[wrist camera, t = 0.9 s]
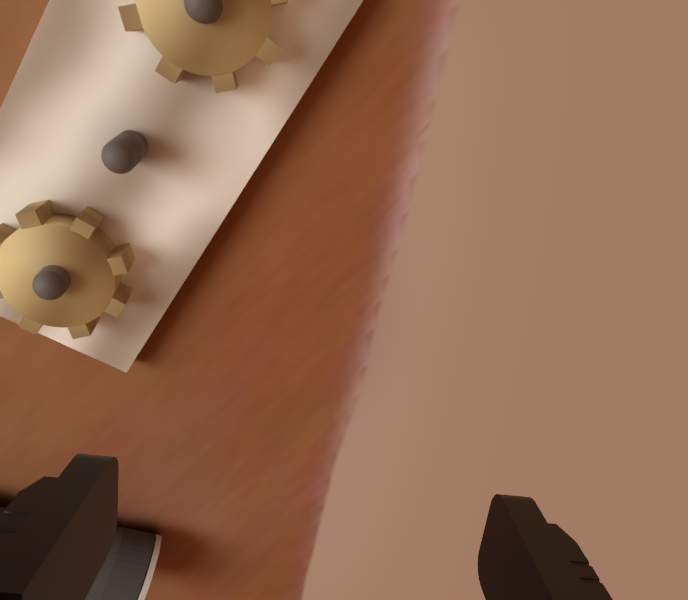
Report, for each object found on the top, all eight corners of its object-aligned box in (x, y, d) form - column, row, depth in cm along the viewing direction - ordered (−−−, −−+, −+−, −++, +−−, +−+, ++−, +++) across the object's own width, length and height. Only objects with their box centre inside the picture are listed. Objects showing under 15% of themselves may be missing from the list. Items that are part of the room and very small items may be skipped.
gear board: (-64, 270, 32) (-118, 310, 27) (147, -188, 24) (120, -238, 19) (131, 359, 36) (112, 407, 31) (362, -5, 28) (381, -12, 24)
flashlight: (-63, 525, 40) (-108, 592, 35) (-50, 472, 38) (-96, 535, 33) (145, 565, 45) (130, 630, 40) (166, 520, 43) (153, 582, 38)
